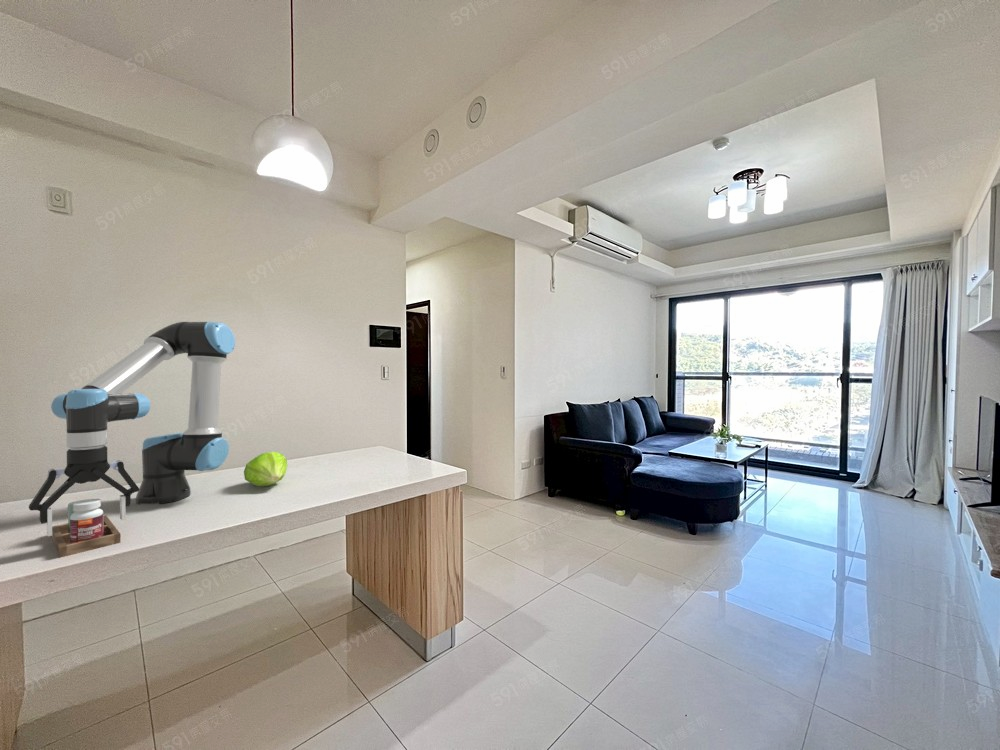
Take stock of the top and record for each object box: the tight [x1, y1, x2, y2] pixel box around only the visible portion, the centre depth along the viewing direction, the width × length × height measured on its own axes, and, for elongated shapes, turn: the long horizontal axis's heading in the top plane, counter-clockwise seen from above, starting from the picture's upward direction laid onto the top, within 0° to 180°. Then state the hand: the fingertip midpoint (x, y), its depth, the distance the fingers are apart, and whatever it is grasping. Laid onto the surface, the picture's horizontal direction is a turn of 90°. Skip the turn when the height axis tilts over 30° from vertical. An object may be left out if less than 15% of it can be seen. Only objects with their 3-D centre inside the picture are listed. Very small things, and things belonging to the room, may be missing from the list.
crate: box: [51, 515, 121, 559], centre depth 109 cm, size 11×21×3 cm, turn 52°
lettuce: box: [243, 451, 288, 488], centre depth 161 cm, size 15×20×14 cm
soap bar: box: [67, 498, 89, 533], centre depth 112 cm, size 6×6×9 cm
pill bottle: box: [70, 498, 104, 544], centre depth 106 cm, size 6×6×11 cm
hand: (87, 526), depth 106 cm, fingers open, 13 cm apart
